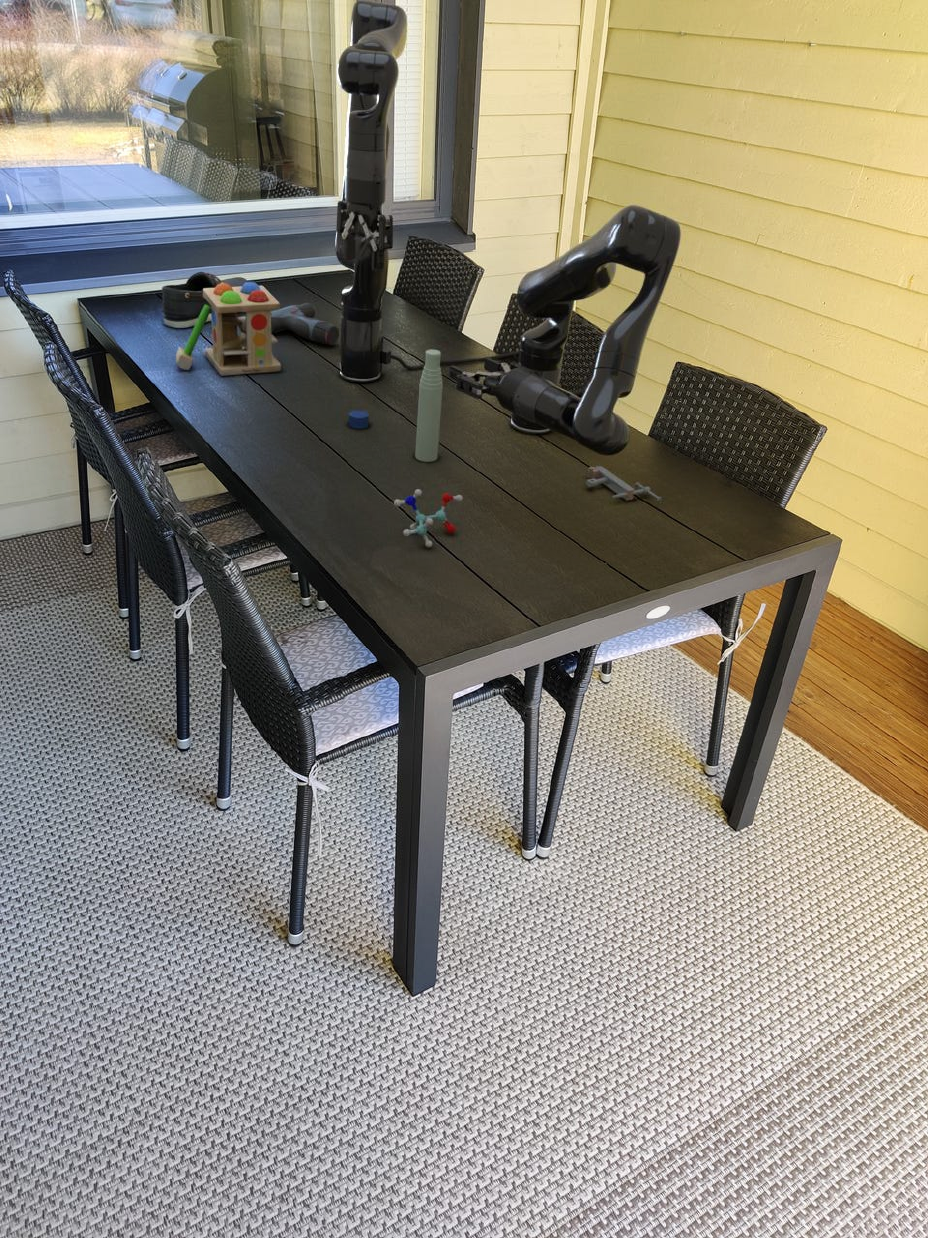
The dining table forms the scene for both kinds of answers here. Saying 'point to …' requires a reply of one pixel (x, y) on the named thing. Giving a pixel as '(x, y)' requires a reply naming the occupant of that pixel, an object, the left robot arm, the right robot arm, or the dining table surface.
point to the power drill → (304, 324)
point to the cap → (358, 419)
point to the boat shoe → (191, 298)
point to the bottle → (429, 408)
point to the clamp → (598, 478)
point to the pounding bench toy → (229, 347)
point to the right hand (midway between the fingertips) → (468, 367)
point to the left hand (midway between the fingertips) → (363, 264)
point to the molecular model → (428, 519)
